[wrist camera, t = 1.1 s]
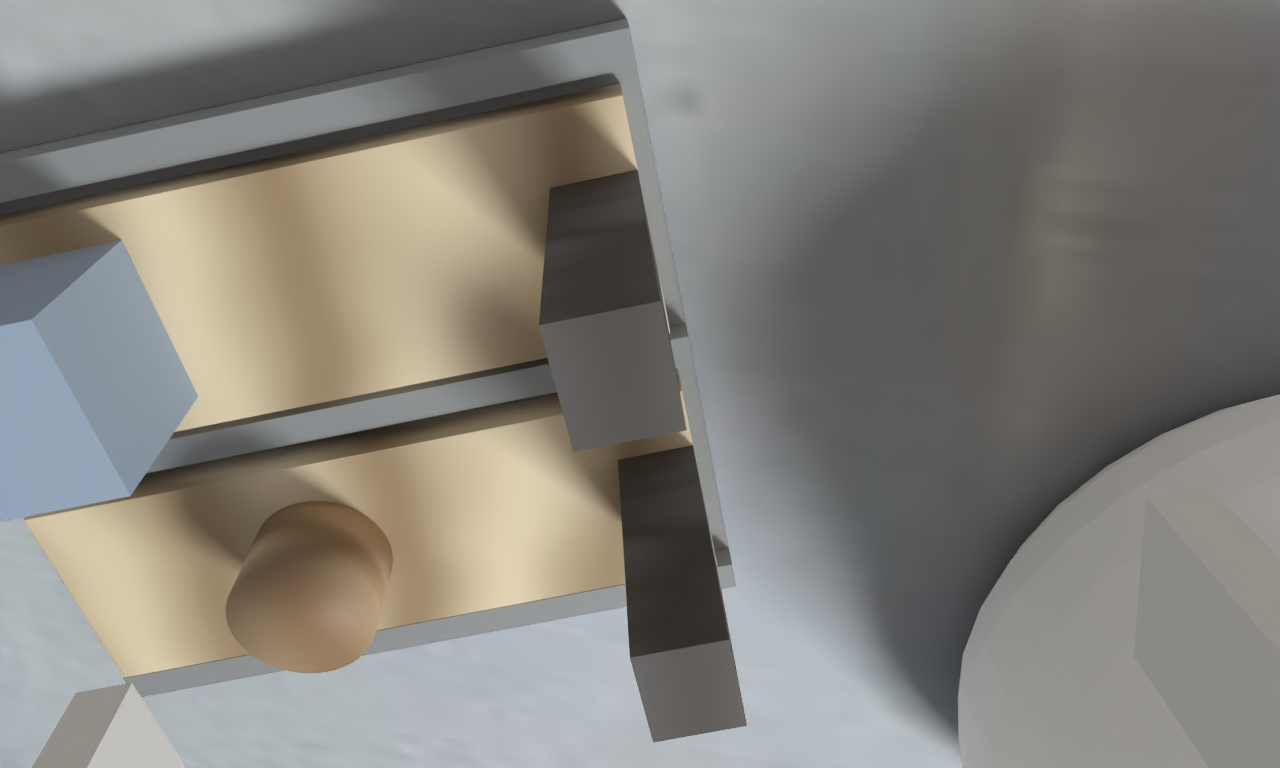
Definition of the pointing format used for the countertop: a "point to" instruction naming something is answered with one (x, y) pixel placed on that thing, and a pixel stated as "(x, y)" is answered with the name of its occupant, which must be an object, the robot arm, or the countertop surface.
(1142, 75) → the countertop surface
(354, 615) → the brown rounded piece
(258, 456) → the strip
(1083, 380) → the countertop surface
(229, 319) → the strip
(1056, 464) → the countertop surface
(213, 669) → the lane board
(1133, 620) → the pot
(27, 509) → the blue block
